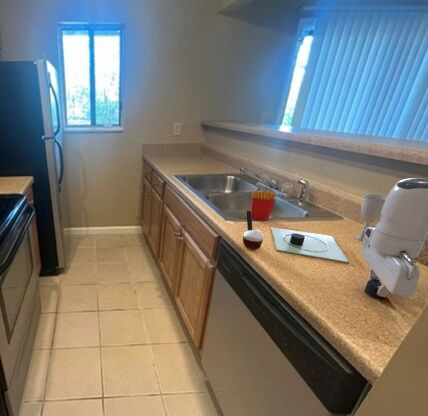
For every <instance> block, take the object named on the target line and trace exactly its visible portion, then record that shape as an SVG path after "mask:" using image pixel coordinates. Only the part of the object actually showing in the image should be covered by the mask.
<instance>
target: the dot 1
mask: <svg viewBox="0 0 428 416" xmlns="http://www.w3.org/2000/svg"><path fill="white" fill-rule="evenodd" d="M304 239H305V236H303V235H301V234H296V233H294V234H292V235H291V239H290V243H291V244H293V245H297V246H302V245H303V242H304Z"/></svg>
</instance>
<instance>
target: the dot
mask: <svg viewBox="0 0 428 416" xmlns="http://www.w3.org/2000/svg"><path fill="white" fill-rule="evenodd" d="M381 282H382V281H375V280H369V281H368V280H367V283H366V285H365V287H364V289H363V290H364V291H363V292H364V293H365V294H366V295H368V296H369V297H371V298H375V299H381V300H382V299H384V298H385V297H382V296H379V295H378V294H377V293H376V290H377V287H380V286H381V285H382V284H381Z"/></svg>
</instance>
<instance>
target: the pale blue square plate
mask: <svg viewBox="0 0 428 416" xmlns="http://www.w3.org/2000/svg"><path fill="white" fill-rule="evenodd" d="M270 230H271V235H272V238H273V239H272V240H273V242H274V247H275V251H276V252H280V253H285V254H286V253H287V254H291V255H298V256H304V257H310V258H314V259H320V260H327V261H332V262H336V263H337V262H338V263H344V264H350V261H349V259H348V258H347V256H346V255H345V253H344V252H343V251H342V249H341V247H340V245H338V243H337V242H336V241H335V239H334V237H333V236H332V235H328V234H320V233H313V232H307V231H300V230H295V229H294V230H292V229H286V228H279V227H273V226H271V227H270ZM294 233H296V234H301V235H303V236H305V239H304V242H303V245H302V246H297V245H293V244H291V243H290V239H291V235H292V234H294Z"/></svg>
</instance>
